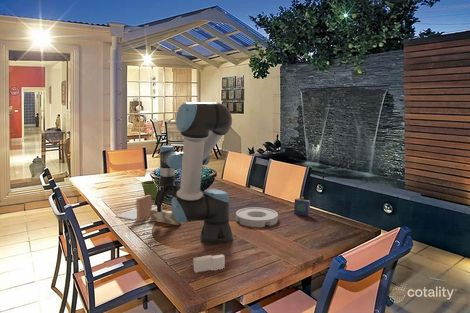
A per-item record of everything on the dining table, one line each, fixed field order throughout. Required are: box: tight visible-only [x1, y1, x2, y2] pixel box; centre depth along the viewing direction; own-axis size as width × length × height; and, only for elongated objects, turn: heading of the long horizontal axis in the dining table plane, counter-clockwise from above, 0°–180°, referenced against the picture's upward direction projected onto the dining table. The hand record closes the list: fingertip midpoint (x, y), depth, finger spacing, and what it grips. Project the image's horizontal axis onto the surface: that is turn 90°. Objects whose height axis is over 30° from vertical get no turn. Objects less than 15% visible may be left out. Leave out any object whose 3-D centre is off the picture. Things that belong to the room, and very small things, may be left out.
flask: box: [293, 196, 311, 217], centre depth 203 cm, size 9×3×11 cm, turn 61°
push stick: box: [149, 208, 182, 226], centre depth 189 cm, size 18×3×6 cm, turn 64°
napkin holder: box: [192, 253, 226, 273], centre depth 135 cm, size 15×11×6 cm
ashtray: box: [235, 206, 279, 228], centre depth 194 cm, size 23×23×4 cm
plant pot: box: [140, 180, 158, 201], centre depth 233 cm, size 12×12×11 cm
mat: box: [115, 207, 137, 221], centre depth 201 cm, size 13×16×1 cm
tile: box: [135, 195, 153, 222], centre depth 195 cm, size 2×10×12 cm, turn 155°
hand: (168, 213), depth 188 cm, fingers open, 13 cm apart
